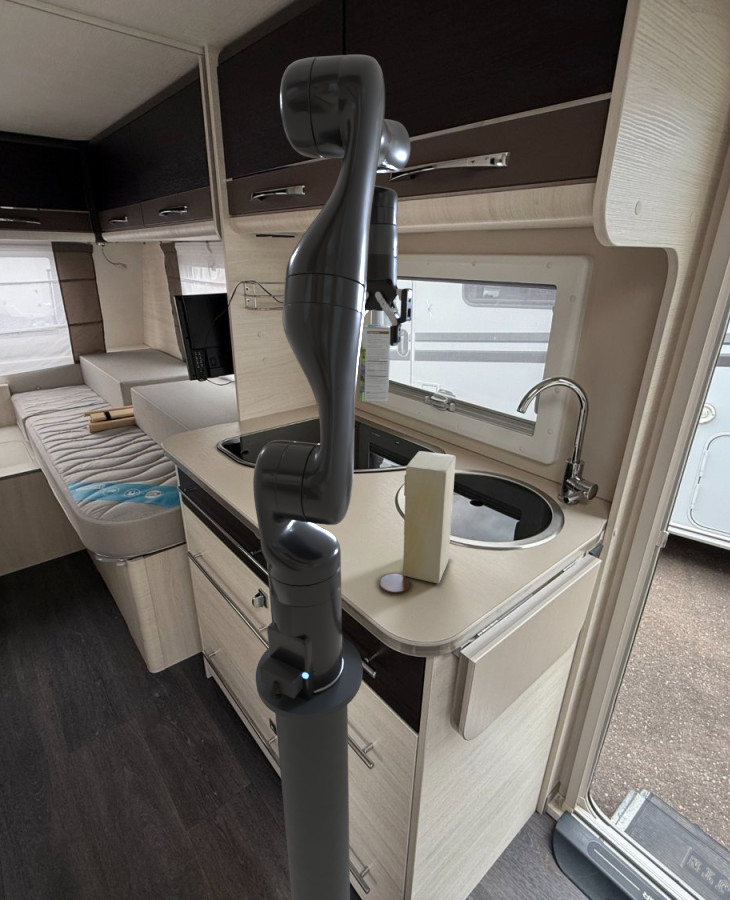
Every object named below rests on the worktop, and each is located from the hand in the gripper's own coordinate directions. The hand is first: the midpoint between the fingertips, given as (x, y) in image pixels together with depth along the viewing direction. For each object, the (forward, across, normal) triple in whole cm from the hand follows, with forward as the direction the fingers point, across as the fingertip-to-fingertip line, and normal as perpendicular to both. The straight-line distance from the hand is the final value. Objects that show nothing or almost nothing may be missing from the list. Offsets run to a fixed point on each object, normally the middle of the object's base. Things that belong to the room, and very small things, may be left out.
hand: (375, 344), depth 91 cm
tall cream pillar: (+37, +18, -14) cm, 44 cm away
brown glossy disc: (+37, +15, -21) cm, 45 cm away
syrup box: (+11, 0, 0) cm, 11 cm away
